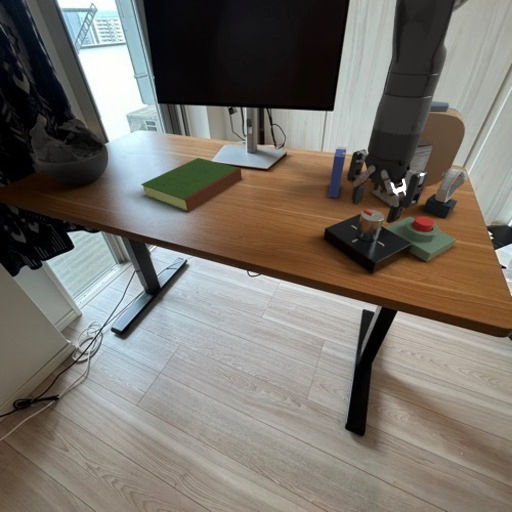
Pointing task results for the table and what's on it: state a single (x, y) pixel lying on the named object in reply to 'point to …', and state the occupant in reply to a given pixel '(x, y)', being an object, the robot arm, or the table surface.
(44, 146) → the gray filled bowl
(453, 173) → the watch
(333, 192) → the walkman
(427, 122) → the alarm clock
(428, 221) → the button
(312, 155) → the table surface
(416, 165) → the coffee box
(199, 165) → the hardcover book
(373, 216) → the knob
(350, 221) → the dial panel
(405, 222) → the button base
